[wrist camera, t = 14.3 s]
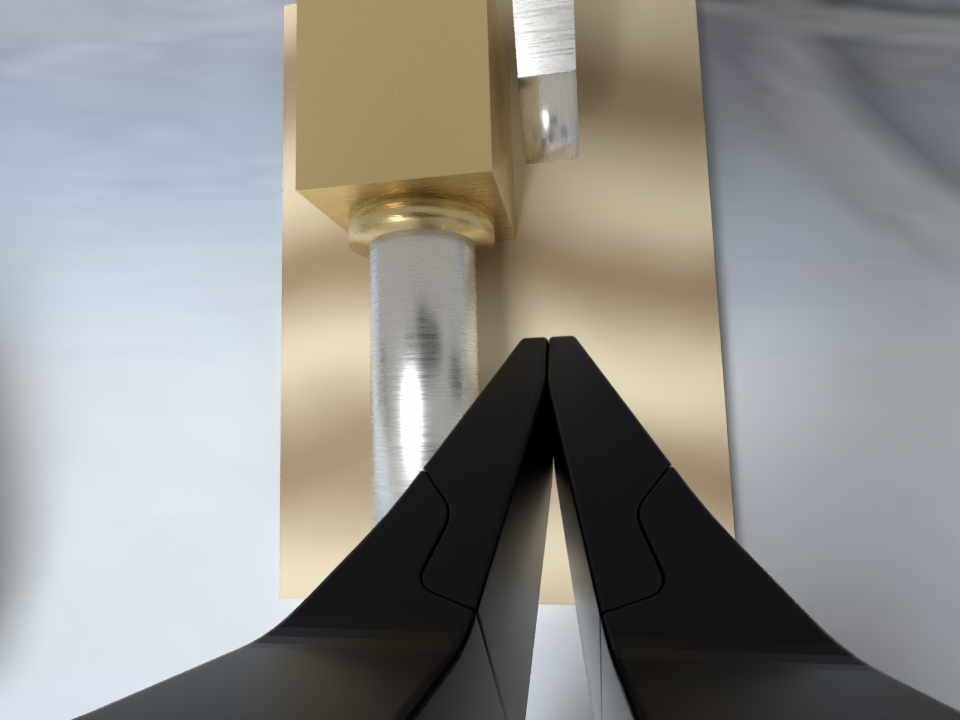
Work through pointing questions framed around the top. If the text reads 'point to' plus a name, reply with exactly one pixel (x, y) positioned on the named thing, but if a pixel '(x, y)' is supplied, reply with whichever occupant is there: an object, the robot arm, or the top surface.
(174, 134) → the top surface
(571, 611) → the top surface
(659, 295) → the mounting board
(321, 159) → the valve pipe
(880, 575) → the top surface
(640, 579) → the robot arm
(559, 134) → the valve lever
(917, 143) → the top surface
